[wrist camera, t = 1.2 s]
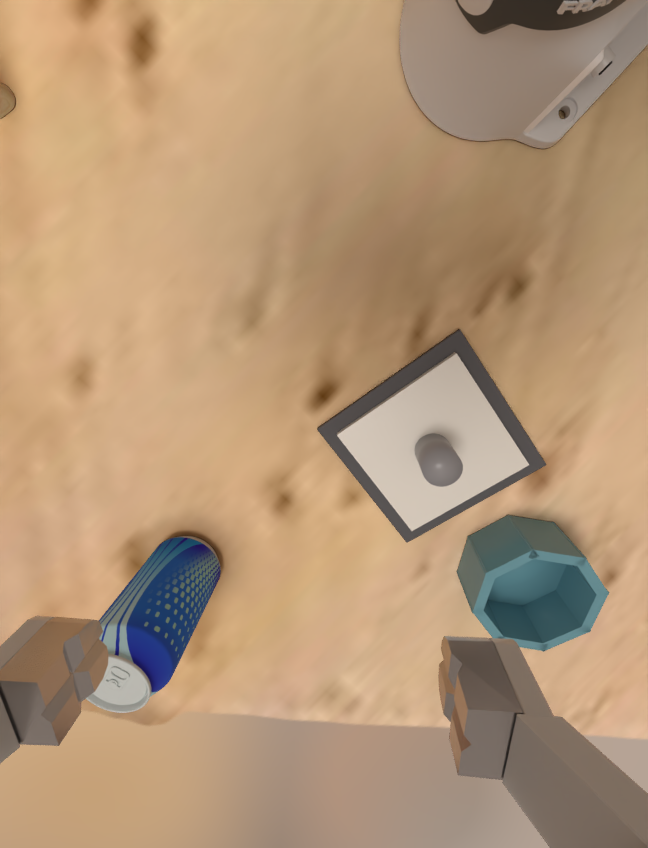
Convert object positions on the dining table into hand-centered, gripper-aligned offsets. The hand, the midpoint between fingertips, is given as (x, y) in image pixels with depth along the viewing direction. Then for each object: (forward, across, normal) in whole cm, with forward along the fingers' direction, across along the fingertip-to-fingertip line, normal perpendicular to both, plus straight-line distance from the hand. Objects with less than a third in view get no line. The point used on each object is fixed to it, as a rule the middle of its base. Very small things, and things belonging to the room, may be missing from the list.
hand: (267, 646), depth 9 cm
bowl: (+30, -21, +21) cm, 42 cm away
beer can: (+31, +18, +22) cm, 42 cm away
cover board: (+30, -10, +6) cm, 32 cm away
